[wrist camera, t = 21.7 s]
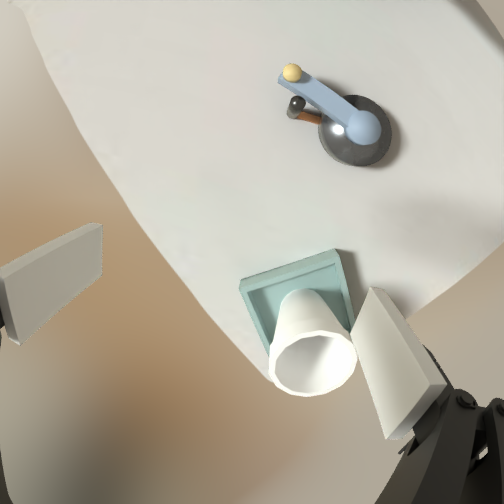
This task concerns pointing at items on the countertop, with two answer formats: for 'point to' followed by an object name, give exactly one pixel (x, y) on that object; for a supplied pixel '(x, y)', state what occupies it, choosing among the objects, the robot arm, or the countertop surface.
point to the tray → (291, 278)
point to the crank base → (335, 135)
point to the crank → (332, 106)
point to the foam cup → (309, 347)
